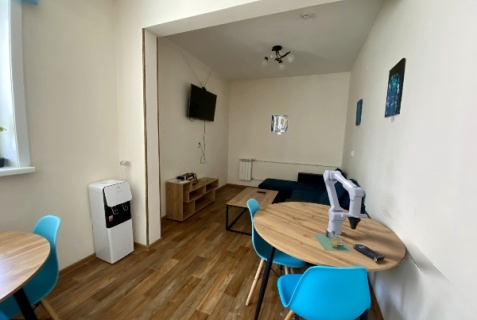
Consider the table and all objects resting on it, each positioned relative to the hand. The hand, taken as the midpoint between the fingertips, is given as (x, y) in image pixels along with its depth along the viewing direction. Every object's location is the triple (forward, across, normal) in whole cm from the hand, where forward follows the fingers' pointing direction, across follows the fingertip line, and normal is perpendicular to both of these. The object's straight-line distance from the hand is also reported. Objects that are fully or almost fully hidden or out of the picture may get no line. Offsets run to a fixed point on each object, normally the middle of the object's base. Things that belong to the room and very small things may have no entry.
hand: (352, 228), depth 121 cm
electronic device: (+11, +4, -9) cm, 15 cm away
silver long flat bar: (+7, -10, 0) cm, 12 cm away
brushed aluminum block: (+9, -10, 0) cm, 14 cm away
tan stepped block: (+9, -12, -5) cm, 16 cm away
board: (+10, -12, 0) cm, 16 cm away
